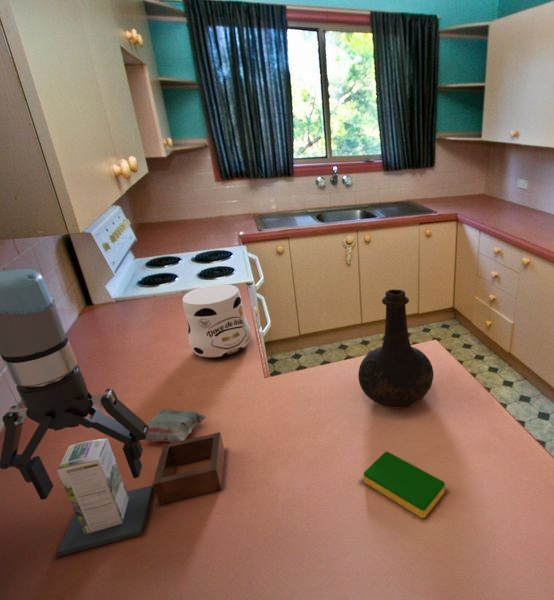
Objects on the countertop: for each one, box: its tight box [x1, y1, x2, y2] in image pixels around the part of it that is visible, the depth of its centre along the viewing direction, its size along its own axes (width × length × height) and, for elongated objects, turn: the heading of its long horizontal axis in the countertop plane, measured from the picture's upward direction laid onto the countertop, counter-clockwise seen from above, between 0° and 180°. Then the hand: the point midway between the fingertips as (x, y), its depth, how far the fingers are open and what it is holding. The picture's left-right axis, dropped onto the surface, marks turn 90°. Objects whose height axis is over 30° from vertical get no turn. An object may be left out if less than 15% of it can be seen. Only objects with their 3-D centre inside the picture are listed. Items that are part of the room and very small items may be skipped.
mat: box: [56, 485, 155, 557], centre depth 74 cm, size 12×10×1 cm
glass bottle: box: [357, 289, 434, 409], centre depth 99 cm, size 18×18×28 cm
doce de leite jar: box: [181, 283, 252, 359], centre depth 126 cm, size 17×17×18 cm
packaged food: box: [143, 408, 206, 443], centre depth 93 cm, size 9×12×5 cm
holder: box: [152, 432, 226, 505], centre depth 82 cm, size 11×11×5 cm
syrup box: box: [56, 437, 129, 534], centre depth 71 cm, size 6×6×14 cm
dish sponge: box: [363, 451, 446, 519], centre depth 79 cm, size 7×14×2 cm, turn 53°
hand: (93, 482), depth 71 cm, fingers open, 12 cm apart
